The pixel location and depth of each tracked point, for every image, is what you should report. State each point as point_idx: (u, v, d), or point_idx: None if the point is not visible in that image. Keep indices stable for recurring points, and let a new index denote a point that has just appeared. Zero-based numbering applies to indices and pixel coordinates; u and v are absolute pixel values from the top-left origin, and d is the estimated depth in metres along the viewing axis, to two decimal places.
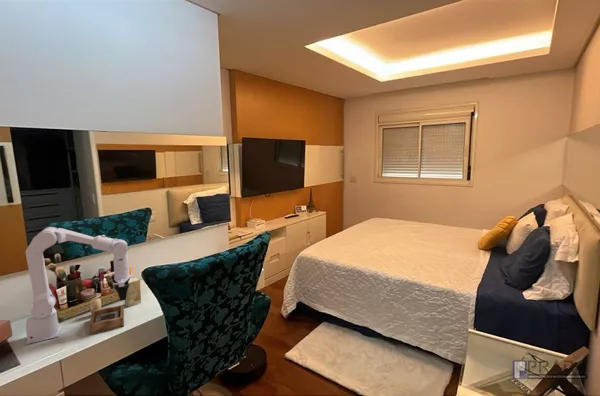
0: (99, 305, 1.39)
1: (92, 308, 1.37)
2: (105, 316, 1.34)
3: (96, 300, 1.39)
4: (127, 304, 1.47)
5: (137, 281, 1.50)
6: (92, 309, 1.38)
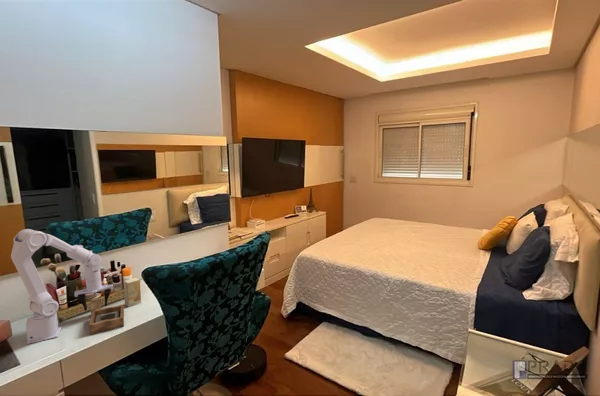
0: (99, 305, 1.39)
1: (92, 308, 1.37)
2: (105, 316, 1.34)
3: (96, 300, 1.39)
4: (127, 304, 1.47)
5: (137, 281, 1.50)
6: (92, 309, 1.38)
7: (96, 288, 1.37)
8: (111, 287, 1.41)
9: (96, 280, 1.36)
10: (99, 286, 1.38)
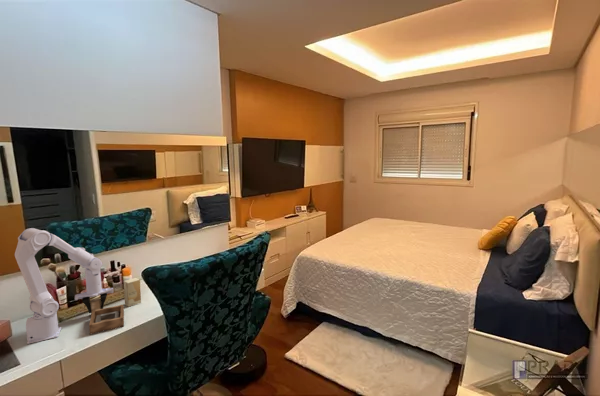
0: (99, 305, 1.39)
1: (92, 308, 1.37)
2: (105, 316, 1.34)
3: (96, 300, 1.39)
4: (127, 304, 1.47)
5: (137, 281, 1.50)
6: (92, 309, 1.38)
7: (96, 291, 1.37)
8: (111, 290, 1.41)
9: (96, 284, 1.37)
10: (99, 289, 1.38)
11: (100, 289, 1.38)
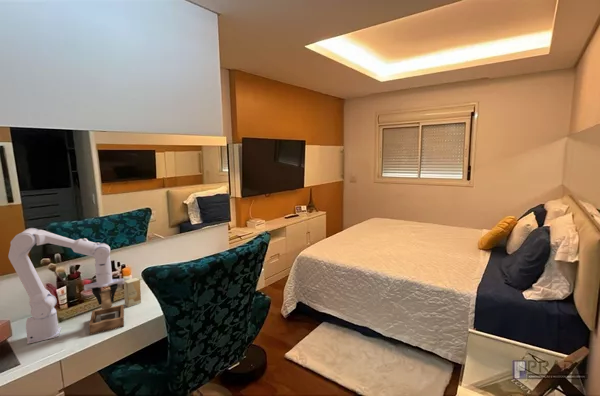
0: (110, 296, 1.32)
1: (102, 299, 1.30)
2: (105, 316, 1.34)
3: (106, 291, 1.31)
4: (127, 304, 1.47)
5: (137, 281, 1.50)
6: (102, 300, 1.30)
7: (106, 282, 1.29)
8: (122, 281, 1.33)
9: (107, 273, 1.29)
10: (110, 280, 1.30)
11: (110, 279, 1.30)
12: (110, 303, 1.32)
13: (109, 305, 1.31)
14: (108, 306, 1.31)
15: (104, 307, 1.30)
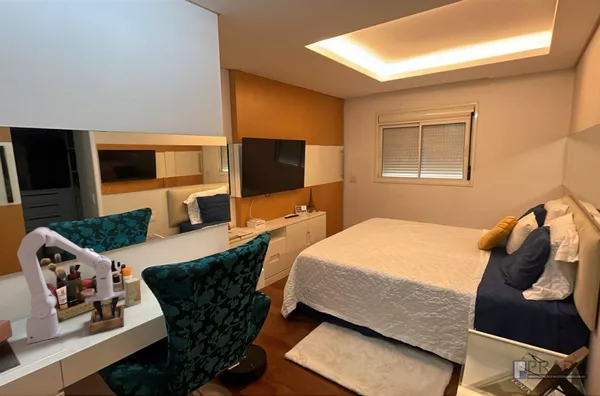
0: (111, 309, 1.32)
1: (103, 312, 1.30)
2: None
3: (107, 304, 1.32)
4: (127, 304, 1.47)
5: (137, 281, 1.50)
6: (103, 313, 1.31)
7: (108, 295, 1.29)
8: (123, 294, 1.34)
9: (108, 287, 1.29)
10: (111, 293, 1.31)
11: (111, 293, 1.31)
12: (111, 316, 1.32)
13: (110, 318, 1.32)
14: (109, 319, 1.32)
15: None
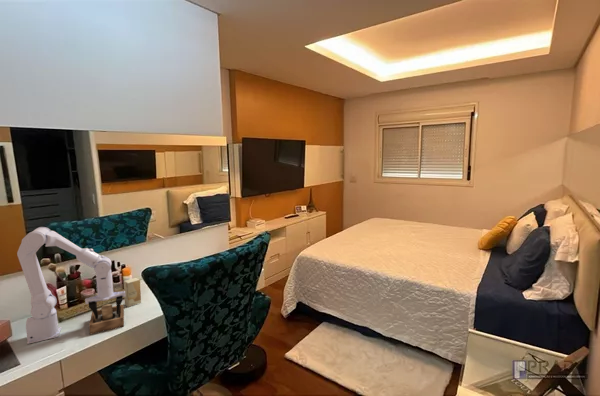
0: (111, 311, 1.32)
1: (104, 314, 1.31)
2: None
3: (108, 306, 1.32)
4: (127, 304, 1.47)
5: (137, 281, 1.50)
6: (104, 315, 1.31)
7: (108, 295, 1.29)
8: (123, 294, 1.34)
9: (108, 287, 1.29)
10: (111, 293, 1.31)
11: (111, 293, 1.31)
12: (111, 318, 1.32)
13: None
14: None
15: None
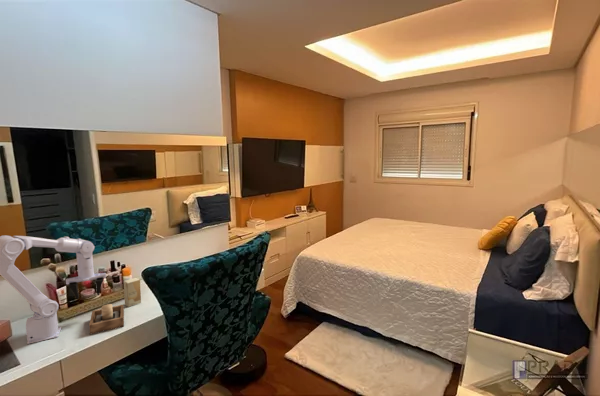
0: (111, 311, 1.32)
1: (104, 314, 1.30)
2: None
3: (108, 306, 1.32)
4: (127, 304, 1.47)
5: (137, 281, 1.50)
6: (104, 315, 1.31)
7: (88, 276, 1.33)
8: (104, 275, 1.37)
9: (88, 268, 1.33)
10: (91, 274, 1.34)
11: (92, 274, 1.35)
12: (111, 318, 1.32)
13: None
14: None
15: None
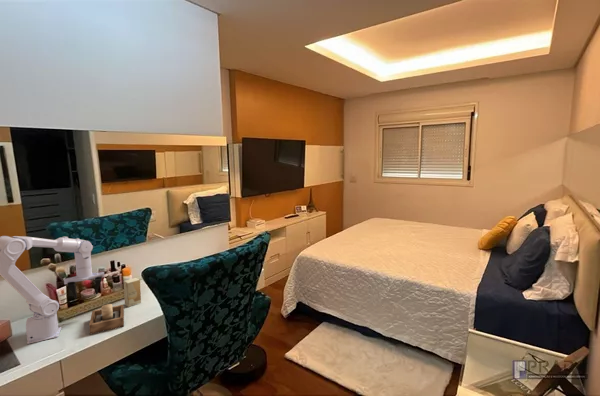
0: (111, 311, 1.32)
1: (104, 314, 1.31)
2: None
3: (108, 306, 1.32)
4: (127, 304, 1.47)
5: (137, 281, 1.50)
6: (104, 315, 1.31)
7: (87, 275, 1.33)
8: (102, 275, 1.38)
9: (87, 267, 1.33)
10: (90, 273, 1.35)
11: (90, 273, 1.35)
12: (111, 318, 1.32)
13: None
14: None
15: None
